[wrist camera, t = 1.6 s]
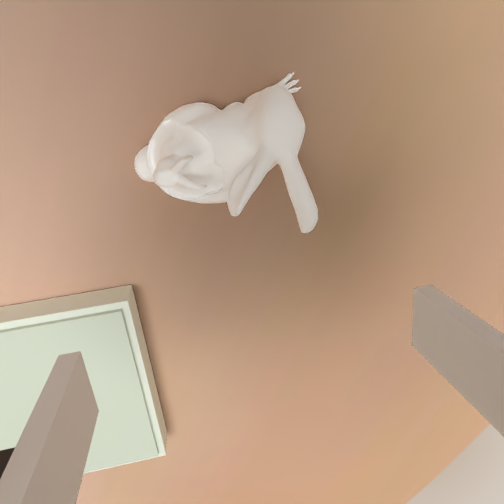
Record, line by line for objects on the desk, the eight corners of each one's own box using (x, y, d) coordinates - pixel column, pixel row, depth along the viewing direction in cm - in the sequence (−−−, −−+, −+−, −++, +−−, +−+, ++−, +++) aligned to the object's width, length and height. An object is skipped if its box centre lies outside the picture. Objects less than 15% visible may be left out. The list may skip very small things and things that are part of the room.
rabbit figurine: (297, 70, 26) (360, 53, 17) (320, 179, 29) (384, 212, 20) (121, 123, 26) (93, 134, 17) (162, 230, 28) (157, 288, 20)
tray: (-108, 325, 27) (-140, 350, 24) (131, 284, 29) (127, 303, 27) (-33, 474, 32) (-52, 508, 30) (166, 430, 34) (165, 459, 32)
